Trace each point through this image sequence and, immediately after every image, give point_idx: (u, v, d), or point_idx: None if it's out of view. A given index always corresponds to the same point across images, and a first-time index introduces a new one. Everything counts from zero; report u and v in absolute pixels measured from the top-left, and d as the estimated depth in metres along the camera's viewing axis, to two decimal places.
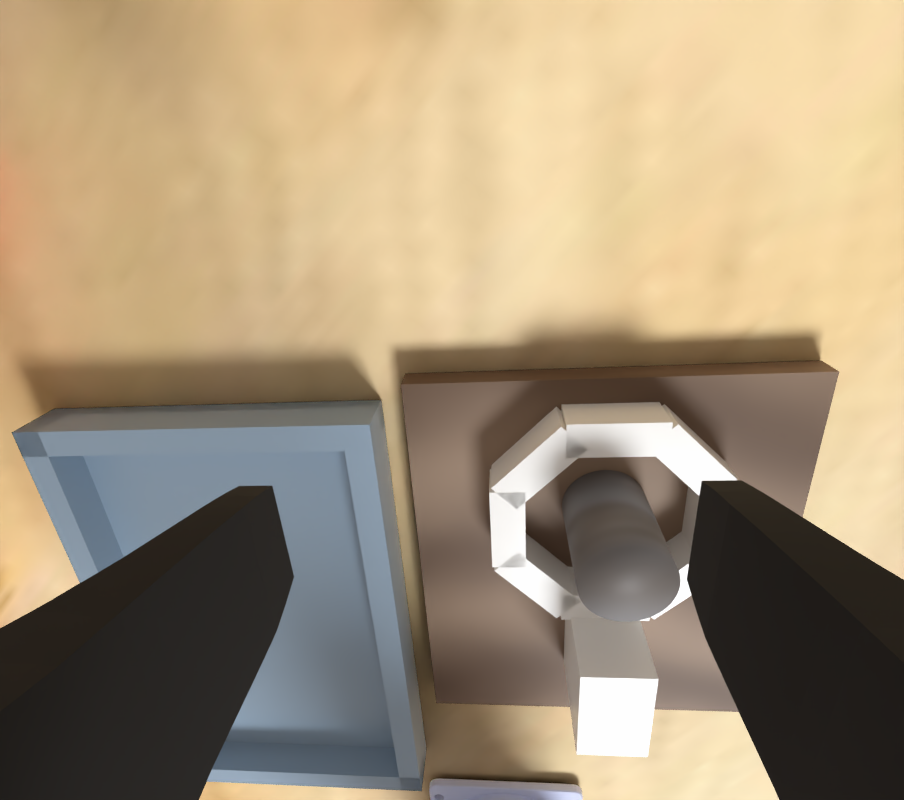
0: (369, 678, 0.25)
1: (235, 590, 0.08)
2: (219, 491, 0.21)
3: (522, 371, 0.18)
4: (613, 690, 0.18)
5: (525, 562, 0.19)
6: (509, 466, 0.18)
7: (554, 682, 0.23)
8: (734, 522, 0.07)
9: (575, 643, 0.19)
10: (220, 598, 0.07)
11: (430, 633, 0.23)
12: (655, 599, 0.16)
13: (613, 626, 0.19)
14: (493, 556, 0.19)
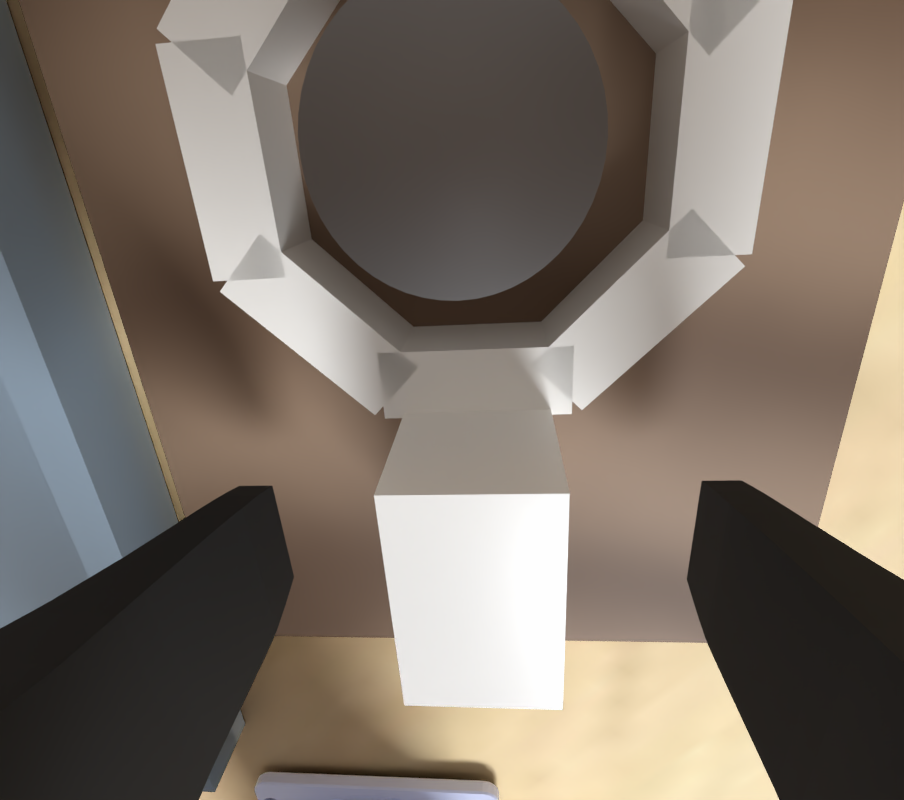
0: None
1: (235, 590, 0.08)
2: None
3: None
4: (461, 533, 0.07)
5: (283, 264, 0.08)
6: None
7: None
8: (734, 522, 0.07)
9: (394, 446, 0.08)
10: (221, 599, 0.07)
11: (181, 493, 0.12)
12: (537, 205, 0.05)
13: (490, 420, 0.09)
14: (209, 249, 0.08)
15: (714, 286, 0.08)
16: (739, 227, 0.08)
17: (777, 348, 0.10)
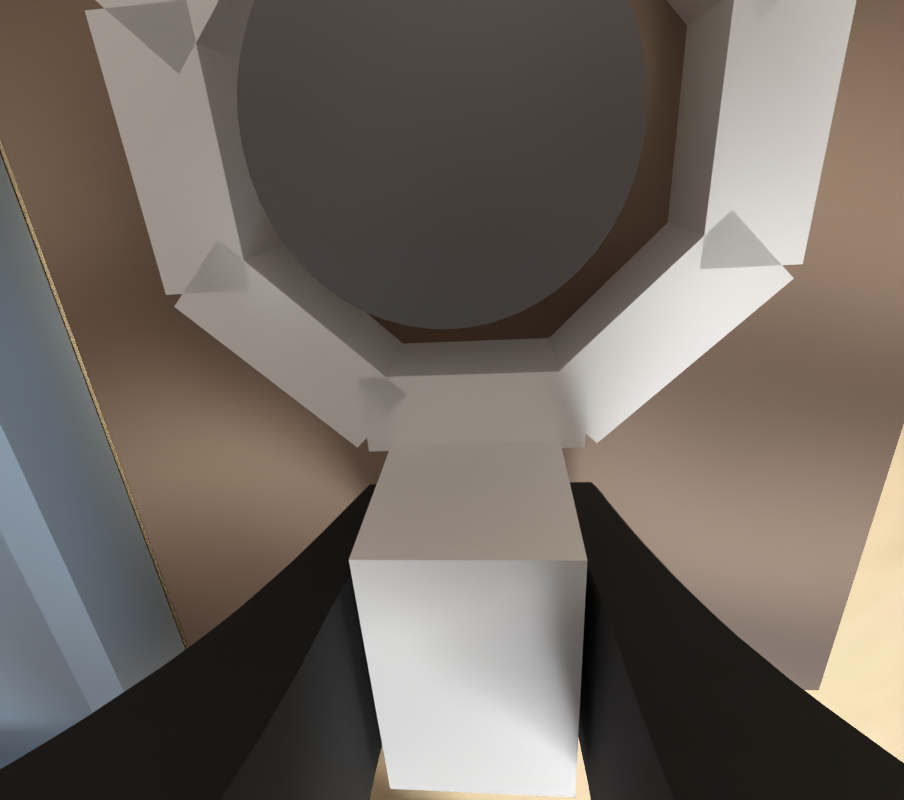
0: None
1: None
2: None
3: None
4: (455, 603, 0.06)
5: (247, 275, 0.07)
6: None
7: None
8: None
9: (378, 489, 0.07)
10: None
11: (147, 524, 0.11)
12: (552, 208, 0.04)
13: (490, 456, 0.07)
14: (160, 257, 0.07)
15: (756, 301, 0.07)
16: (788, 232, 0.06)
17: (819, 368, 0.08)
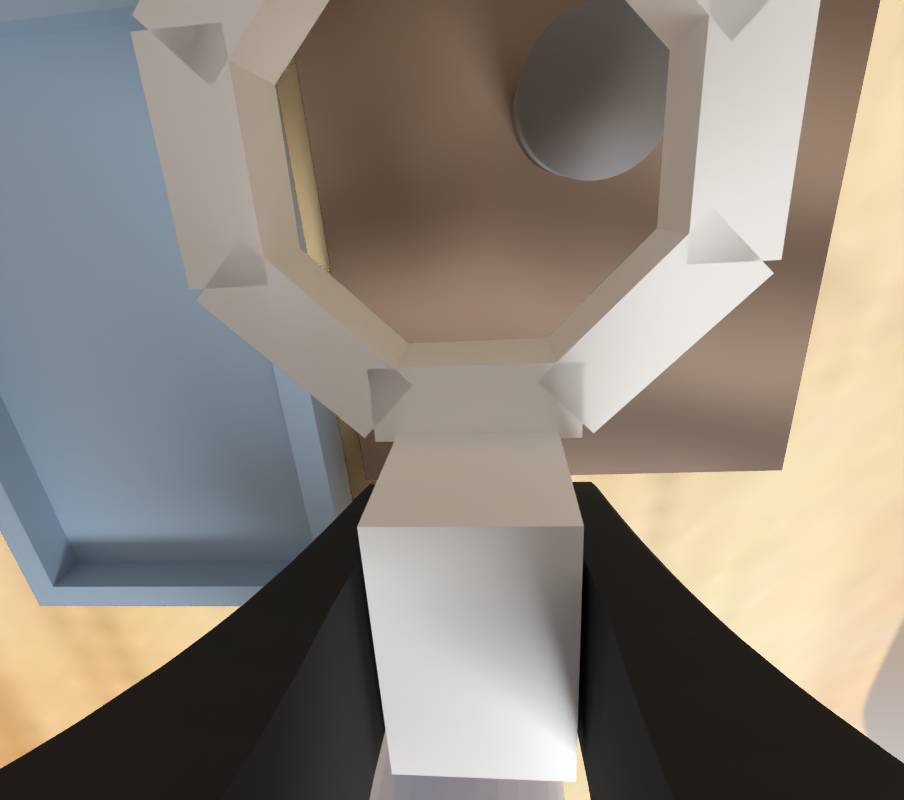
0: (280, 451, 0.19)
1: None
2: (48, 140, 0.15)
3: None
4: (458, 571, 0.06)
5: (265, 271, 0.08)
6: None
7: None
8: None
9: (384, 472, 0.07)
10: None
11: None
12: (641, 125, 0.10)
13: (492, 444, 0.08)
14: (185, 254, 0.08)
15: (740, 295, 0.07)
16: (767, 230, 0.07)
17: None
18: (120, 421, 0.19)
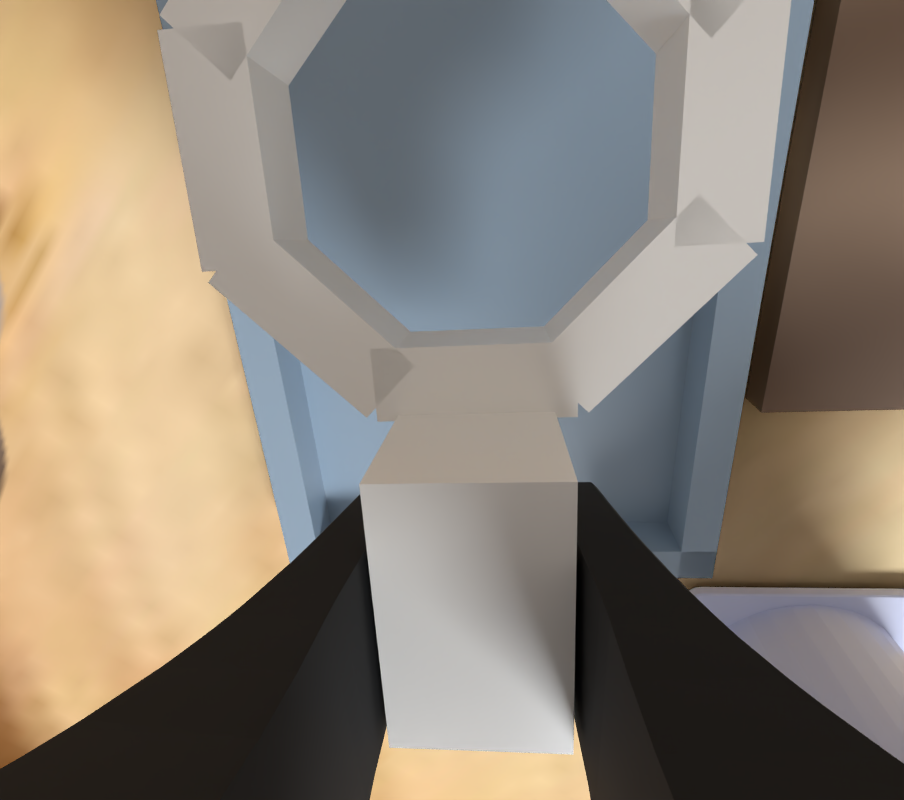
0: (644, 376, 0.15)
1: None
2: None
3: None
4: (457, 529, 0.06)
5: (275, 253, 0.08)
6: None
7: None
8: None
9: (386, 443, 0.07)
10: None
11: (796, 248, 0.13)
12: None
13: (490, 421, 0.08)
14: (200, 238, 0.08)
15: (726, 276, 0.08)
16: (749, 213, 0.07)
17: None
18: None
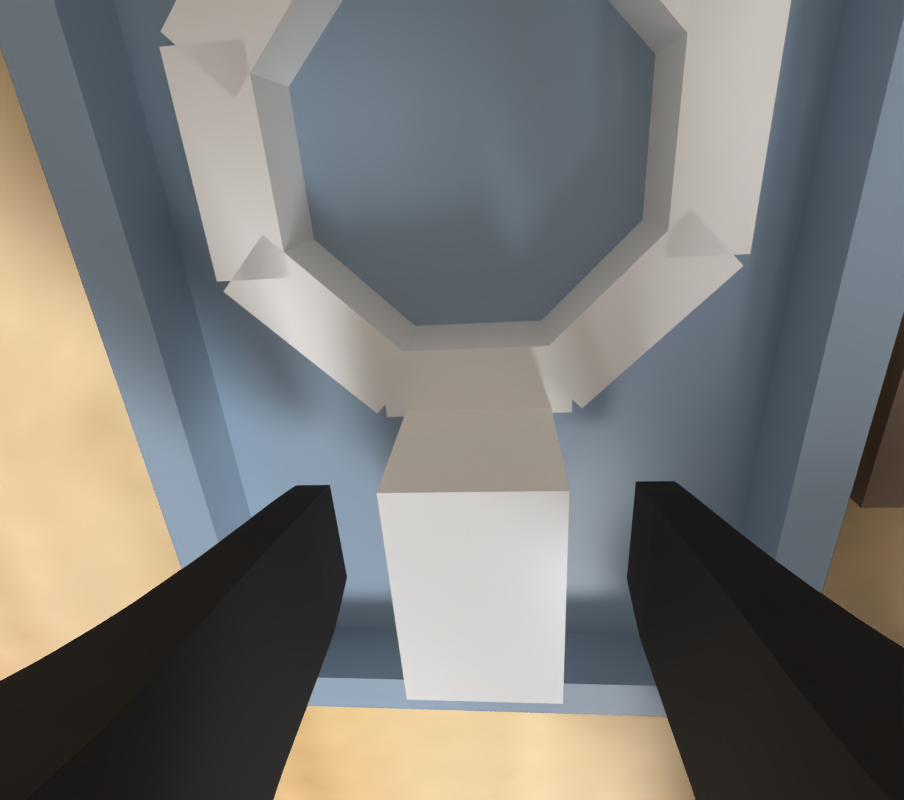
0: (698, 456, 0.11)
1: (301, 591, 0.08)
2: None
3: None
4: (463, 530, 0.07)
5: (285, 265, 0.08)
6: None
7: None
8: (657, 523, 0.07)
9: (397, 444, 0.08)
10: (289, 599, 0.07)
11: None
12: None
13: (491, 418, 0.09)
14: (213, 250, 0.08)
15: (713, 285, 0.08)
16: (737, 227, 0.08)
17: None
18: None
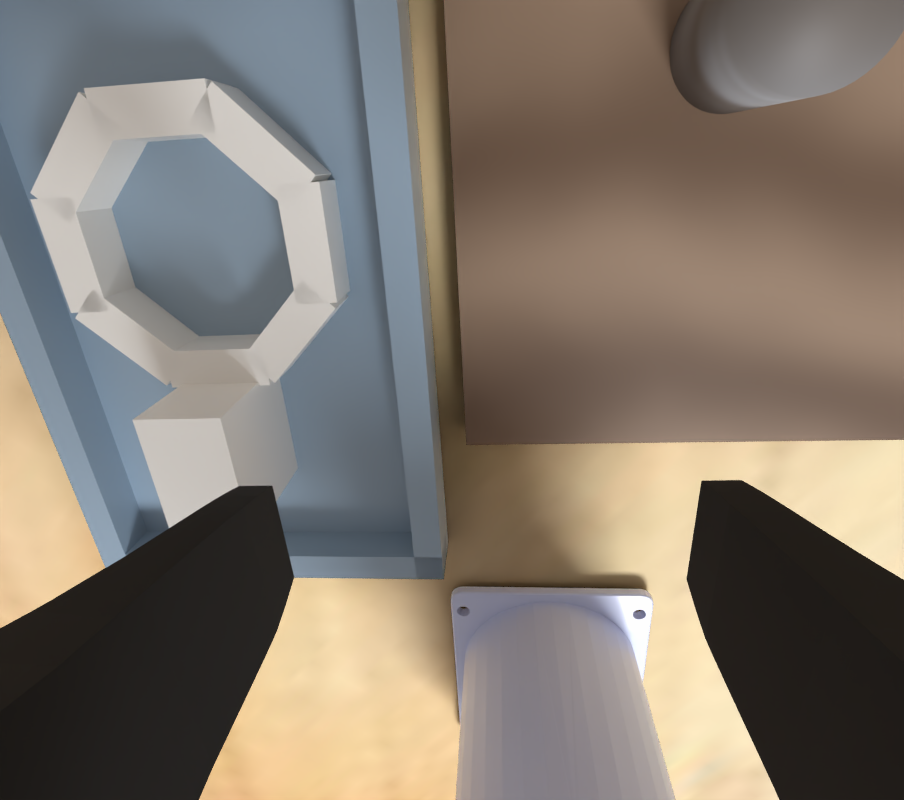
0: (375, 414, 0.18)
1: (235, 590, 0.08)
2: (161, 69, 0.14)
3: None
4: (177, 439, 0.14)
5: (106, 304, 0.16)
6: (52, 165, 0.15)
7: (632, 399, 0.17)
8: (734, 522, 0.07)
9: (163, 400, 0.16)
10: (221, 599, 0.07)
11: (462, 318, 0.16)
12: (870, 33, 0.09)
13: (221, 387, 0.16)
14: (67, 296, 0.16)
15: (323, 318, 0.15)
16: (327, 289, 0.15)
17: None
18: None
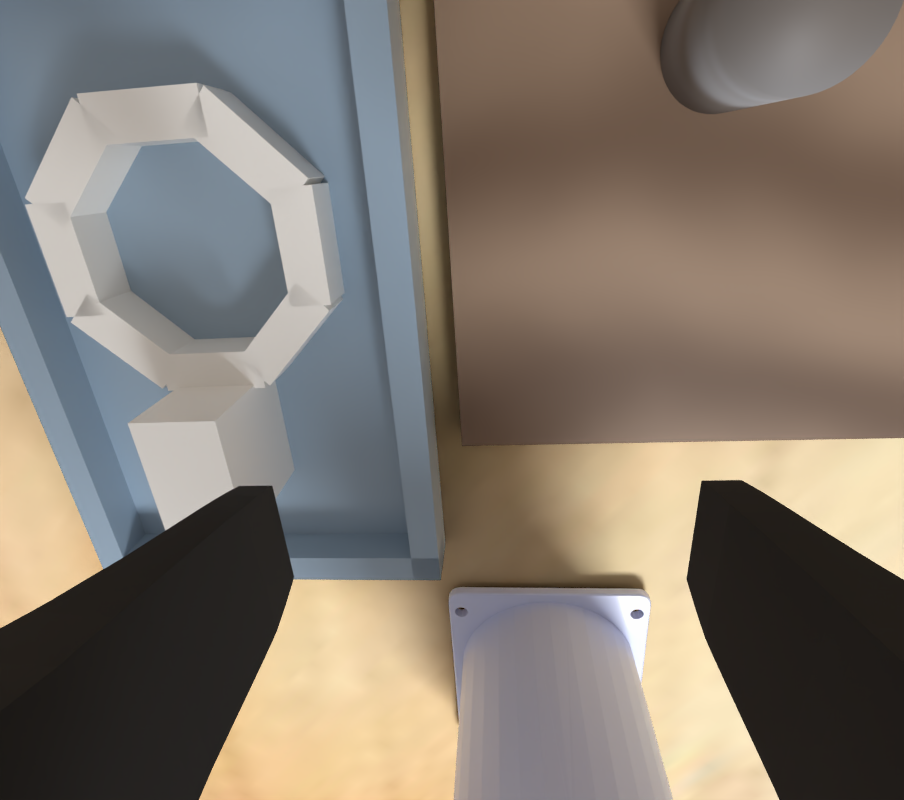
0: (371, 416, 0.18)
1: (235, 590, 0.08)
2: (154, 74, 0.14)
3: None
4: (172, 442, 0.15)
5: (101, 308, 0.16)
6: (47, 170, 0.15)
7: (627, 399, 0.17)
8: (734, 522, 0.07)
9: (158, 403, 0.16)
10: (221, 599, 0.07)
11: (456, 319, 0.16)
12: (857, 33, 0.09)
13: (216, 390, 0.16)
14: (62, 300, 0.16)
15: (318, 320, 0.15)
16: (320, 291, 0.15)
17: None
18: None
